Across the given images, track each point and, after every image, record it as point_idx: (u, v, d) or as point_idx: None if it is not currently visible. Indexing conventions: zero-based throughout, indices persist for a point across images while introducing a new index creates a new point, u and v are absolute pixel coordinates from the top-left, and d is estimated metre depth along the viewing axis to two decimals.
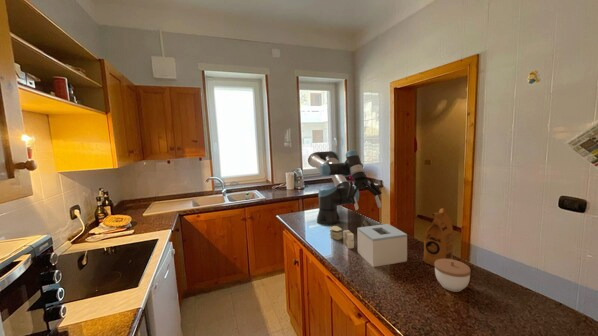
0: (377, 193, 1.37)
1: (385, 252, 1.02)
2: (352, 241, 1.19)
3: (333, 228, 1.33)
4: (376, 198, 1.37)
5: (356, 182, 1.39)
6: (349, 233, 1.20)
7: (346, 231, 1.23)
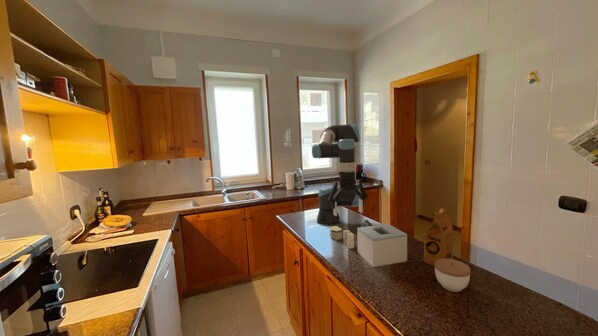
0: (362, 197, 1.20)
1: (385, 252, 1.02)
2: (352, 241, 1.19)
3: (333, 228, 1.33)
4: (359, 202, 1.21)
5: (342, 183, 1.17)
6: (349, 233, 1.20)
7: (346, 231, 1.23)
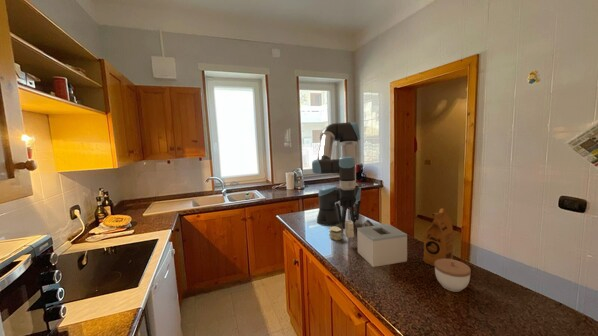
0: (353, 219, 1.21)
1: (385, 252, 1.02)
2: (352, 230, 1.19)
3: (333, 228, 1.32)
4: None
5: (342, 201, 1.18)
6: (349, 222, 1.20)
7: (346, 220, 1.23)
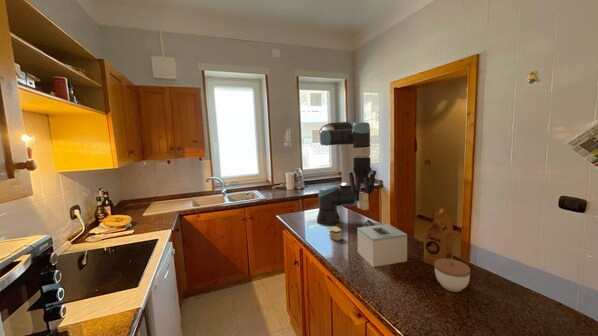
0: (368, 191, 1.12)
1: (385, 252, 1.02)
2: (367, 202, 1.10)
3: (332, 229, 1.32)
4: None
5: (356, 170, 1.10)
6: (363, 193, 1.11)
7: (360, 192, 1.14)
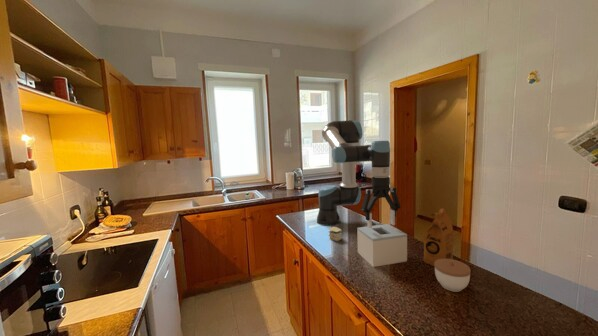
0: (395, 208, 1.08)
1: (385, 252, 1.02)
2: None
3: (332, 229, 1.32)
4: (391, 213, 1.09)
5: (375, 190, 1.05)
6: None
7: None
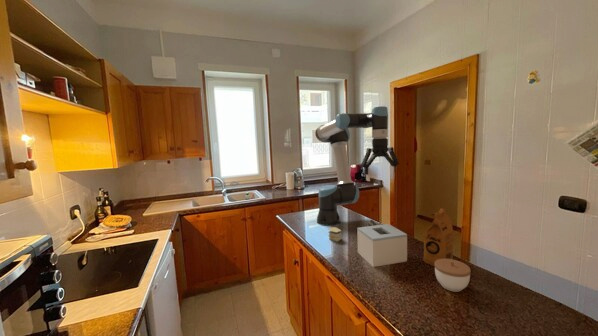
0: (394, 164, 1.25)
1: (385, 252, 1.02)
2: None
3: (332, 229, 1.31)
4: (391, 169, 1.26)
5: (375, 150, 1.22)
6: None
7: None
